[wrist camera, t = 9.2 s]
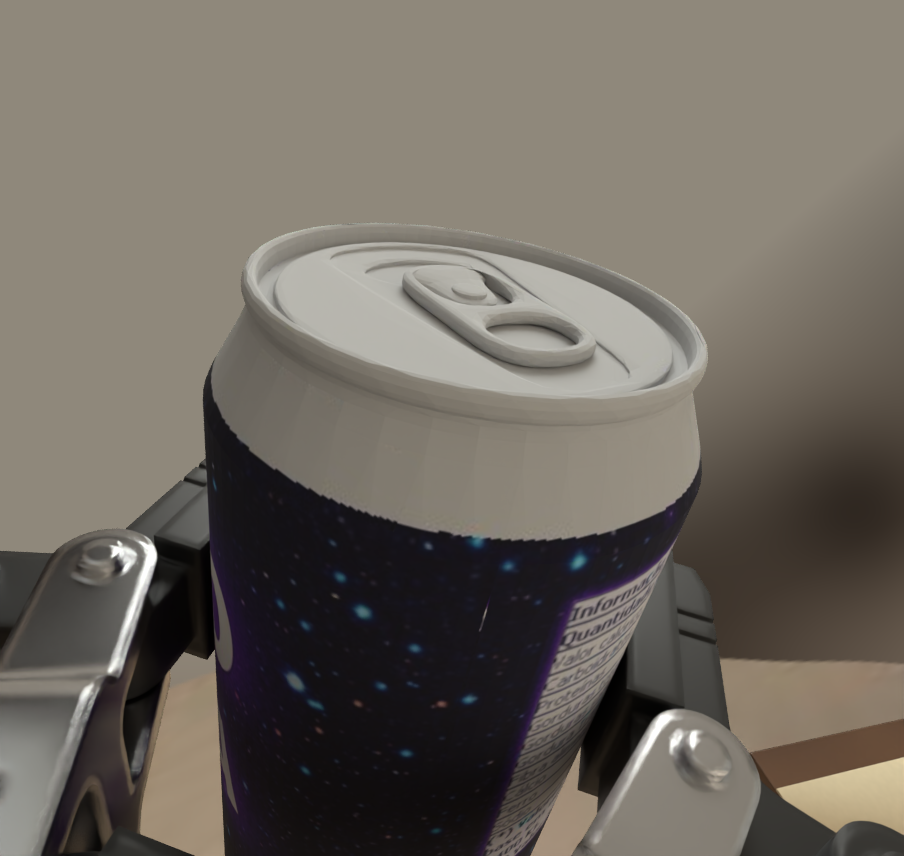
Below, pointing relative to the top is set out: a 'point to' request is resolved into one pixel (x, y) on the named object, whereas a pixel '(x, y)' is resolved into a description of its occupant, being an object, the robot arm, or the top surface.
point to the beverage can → (431, 530)
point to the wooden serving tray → (841, 775)
